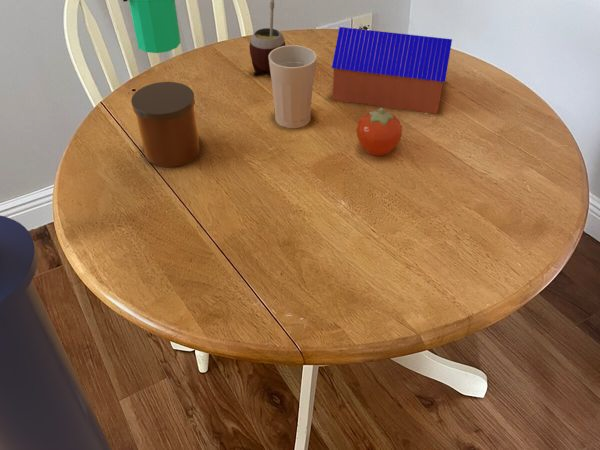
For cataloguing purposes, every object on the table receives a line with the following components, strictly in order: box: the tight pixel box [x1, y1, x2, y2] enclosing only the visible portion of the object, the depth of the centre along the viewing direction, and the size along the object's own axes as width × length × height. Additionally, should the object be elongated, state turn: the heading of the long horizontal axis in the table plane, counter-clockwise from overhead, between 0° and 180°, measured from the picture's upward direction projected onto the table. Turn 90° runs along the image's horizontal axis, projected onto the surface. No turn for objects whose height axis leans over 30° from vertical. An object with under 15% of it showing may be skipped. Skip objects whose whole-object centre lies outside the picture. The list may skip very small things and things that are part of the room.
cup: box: [268, 44, 318, 129], centre depth 101 cm, size 8×8×12 cm
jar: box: [130, 81, 201, 168], centre depth 94 cm, size 10×10×10 cm
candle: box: [128, 0, 181, 54], centre depth 78 cm, size 6×6×12 cm
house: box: [331, 26, 453, 115], centre depth 108 cm, size 12×20×12 cm, turn 76°
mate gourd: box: [249, 0, 287, 77], centre depth 112 cm, size 8×8×15 cm
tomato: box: [355, 107, 403, 157], centre depth 95 cm, size 7×7×8 cm
